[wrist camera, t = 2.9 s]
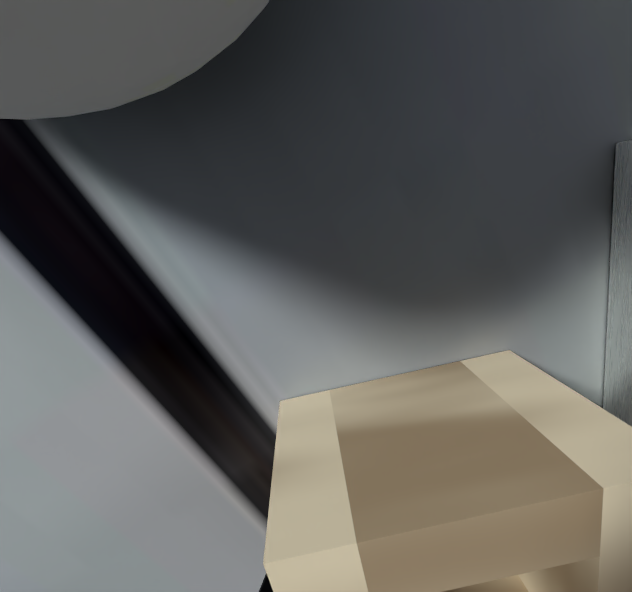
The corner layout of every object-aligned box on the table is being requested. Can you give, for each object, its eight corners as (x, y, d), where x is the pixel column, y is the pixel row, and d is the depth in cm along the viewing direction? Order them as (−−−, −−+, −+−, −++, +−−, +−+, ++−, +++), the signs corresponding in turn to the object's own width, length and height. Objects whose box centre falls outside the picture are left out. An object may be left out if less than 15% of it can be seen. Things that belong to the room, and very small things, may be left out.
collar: (516, 524, 10) (656, 720, 6) (327, 566, 10) (345, 790, 6) (509, 349, 8) (696, 467, 4) (280, 401, 8) (262, 564, 4)
